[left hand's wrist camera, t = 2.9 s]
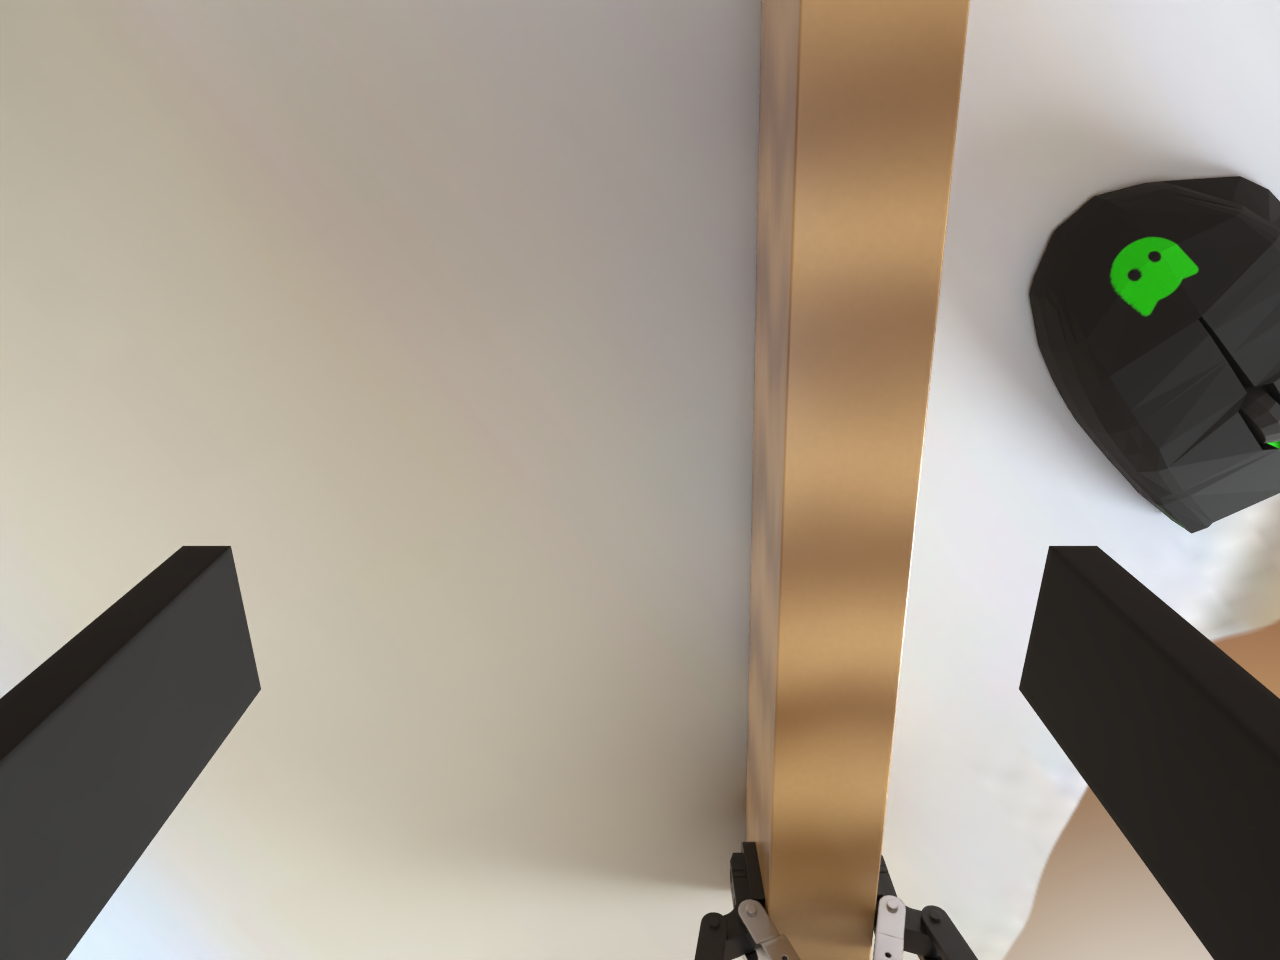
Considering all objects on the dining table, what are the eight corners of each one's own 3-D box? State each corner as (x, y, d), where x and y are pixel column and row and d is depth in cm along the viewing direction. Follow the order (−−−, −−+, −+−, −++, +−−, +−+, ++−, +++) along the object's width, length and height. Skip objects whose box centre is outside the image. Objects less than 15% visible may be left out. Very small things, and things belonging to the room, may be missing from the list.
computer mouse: (1212, 91, 31) (1291, 82, 27) (1403, 380, 36) (1494, 406, 32) (975, 300, 34) (1017, 317, 30) (1179, 543, 38) (1237, 584, 35)
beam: (765, -220, 28) (812, -356, 20) (910, -225, 28) (1008, -364, 20) (744, 892, 47) (764, 1026, 40) (828, 889, 47) (864, 1023, 40)
